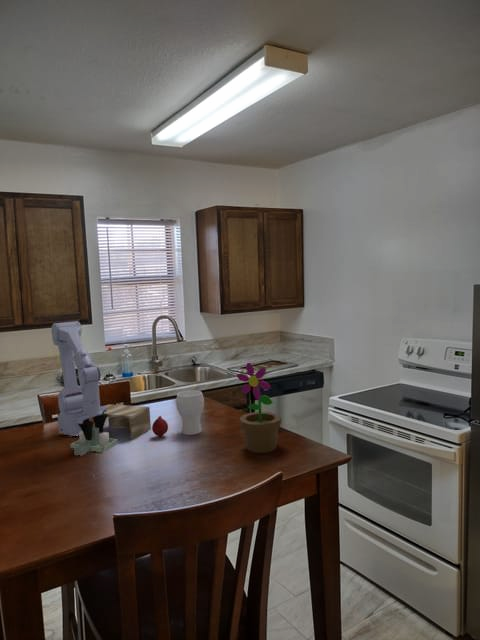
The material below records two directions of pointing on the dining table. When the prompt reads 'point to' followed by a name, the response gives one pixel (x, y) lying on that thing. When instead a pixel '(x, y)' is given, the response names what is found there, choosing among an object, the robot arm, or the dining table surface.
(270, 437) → the flowerpot
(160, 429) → the onion
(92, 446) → the tray
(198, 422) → the cup
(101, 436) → the white egg
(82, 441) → the grey rounded piece
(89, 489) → the dining table surface
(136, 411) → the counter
